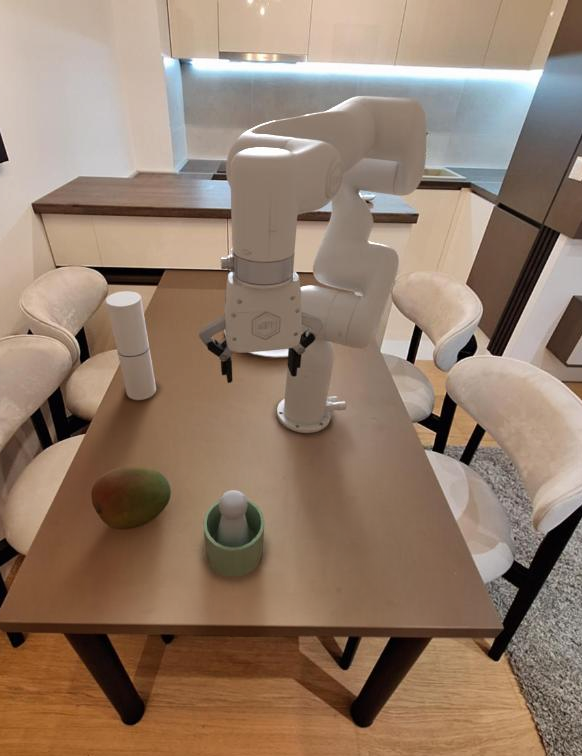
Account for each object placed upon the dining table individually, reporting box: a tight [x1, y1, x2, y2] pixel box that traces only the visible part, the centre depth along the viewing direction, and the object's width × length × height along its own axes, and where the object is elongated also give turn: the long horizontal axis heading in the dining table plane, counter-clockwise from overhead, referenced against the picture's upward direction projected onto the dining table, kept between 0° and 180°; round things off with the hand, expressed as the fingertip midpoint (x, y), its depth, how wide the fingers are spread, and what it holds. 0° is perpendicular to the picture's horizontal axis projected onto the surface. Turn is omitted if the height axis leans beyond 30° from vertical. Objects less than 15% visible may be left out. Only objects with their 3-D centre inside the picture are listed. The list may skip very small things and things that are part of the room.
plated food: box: [223, 329, 288, 359], centre depth 121 cm, size 30×30×3 cm
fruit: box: [90, 466, 172, 531], centre depth 69 cm, size 12×13×10 cm
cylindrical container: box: [105, 290, 157, 401], centre depth 92 cm, size 7×7×25 cm
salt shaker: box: [216, 489, 251, 548], centre depth 63 cm, size 6×6×13 cm
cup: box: [202, 498, 265, 578], centre depth 65 cm, size 9×9×8 cm
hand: (260, 374), depth 60 cm, fingers open, 9 cm apart
